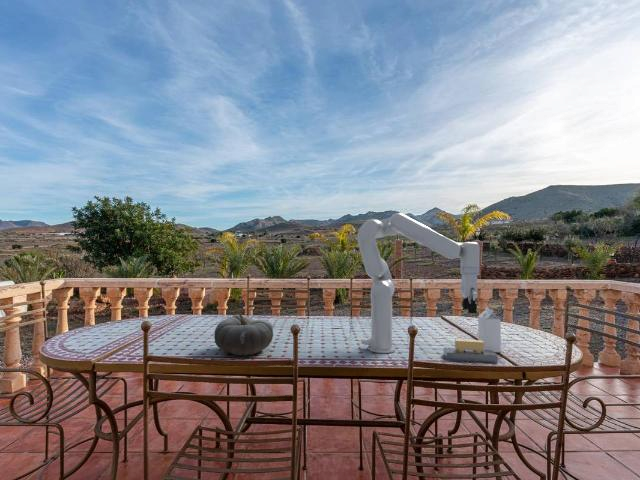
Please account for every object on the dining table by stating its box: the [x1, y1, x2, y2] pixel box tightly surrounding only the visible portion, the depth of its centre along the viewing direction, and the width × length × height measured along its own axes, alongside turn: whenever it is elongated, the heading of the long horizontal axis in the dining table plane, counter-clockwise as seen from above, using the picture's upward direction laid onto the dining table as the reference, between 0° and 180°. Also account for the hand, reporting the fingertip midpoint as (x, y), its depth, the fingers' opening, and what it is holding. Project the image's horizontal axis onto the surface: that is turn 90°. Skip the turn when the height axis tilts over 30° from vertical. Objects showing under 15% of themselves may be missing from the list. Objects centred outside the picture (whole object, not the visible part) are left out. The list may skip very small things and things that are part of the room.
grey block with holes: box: [443, 347, 499, 364], centre depth 156 cm, size 20×8×3 cm, turn 81°
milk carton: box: [477, 307, 502, 353], centre depth 169 cm, size 7×7×19 cm
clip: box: [454, 338, 484, 353], centre depth 156 cm, size 11×3×8 cm, turn 80°
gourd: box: [213, 312, 274, 357], centre depth 163 cm, size 25×25×17 cm
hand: (469, 311), depth 157 cm, fingers open, 9 cm apart
